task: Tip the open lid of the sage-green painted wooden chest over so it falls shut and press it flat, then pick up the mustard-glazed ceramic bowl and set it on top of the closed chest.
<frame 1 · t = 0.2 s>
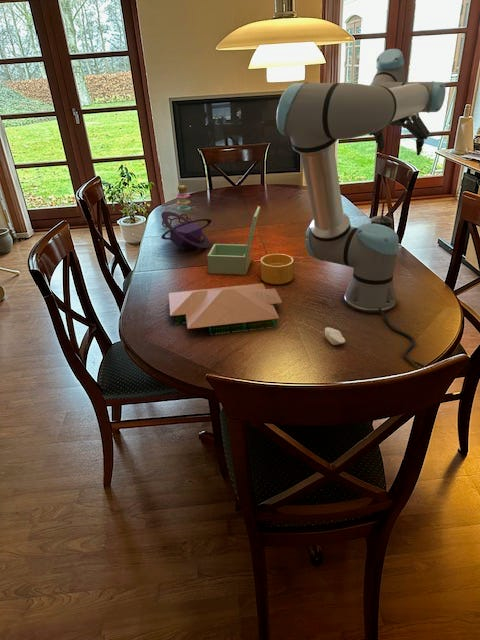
hand: (400, 150, 158), 36 cm above the table, tool tilted 35°, fingers open, 13 cm apart
white rock: (334, 342, 119), on the table
house: (226, 314, 134), on the table
glasses: (181, 229, 202), on the table
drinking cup: (376, 254, 169), on the table
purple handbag: (187, 248, 182), on the table
chest lid: (252, 230, 155), point 14 cm above the table, hinge at 104.4°
bowl: (276, 278, 154), on the table
chest: (230, 267, 163), on the table
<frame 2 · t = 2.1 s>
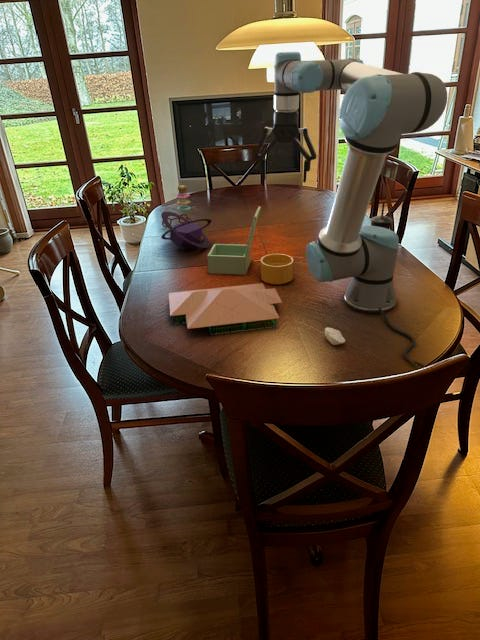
hand: (284, 180, 147), 31 cm above the table, tool pointing down, fingers open, 13 cm apart
chest lid: (252, 230, 155), point 14 cm above the table, hinge at 105.0°
everything else where it was.
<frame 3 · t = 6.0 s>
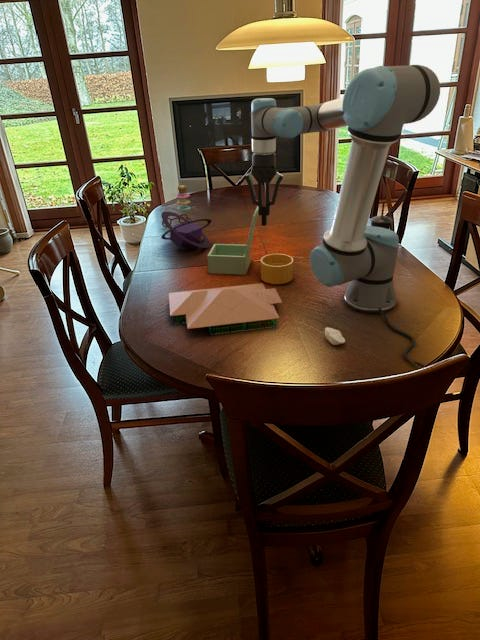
hand: (264, 224, 153), 17 cm above the table, tool pointing down, fingers closed
chest lid: (252, 230, 155), point 14 cm above the table, hinge at 103.2°, touching gripper
everything else where it was.
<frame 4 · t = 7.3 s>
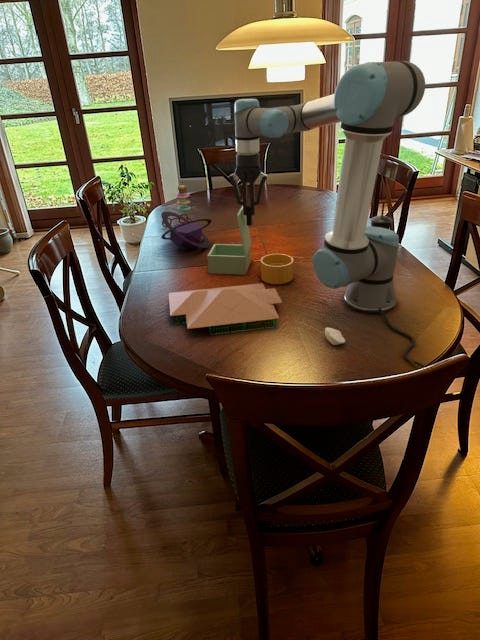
hand: (249, 224, 154), 17 cm above the table, tool pointing down, fingers closed
chest lid: (244, 230, 155), point 14 cm above the table, hinge at 81.7°, touching gripper
everything else where it was.
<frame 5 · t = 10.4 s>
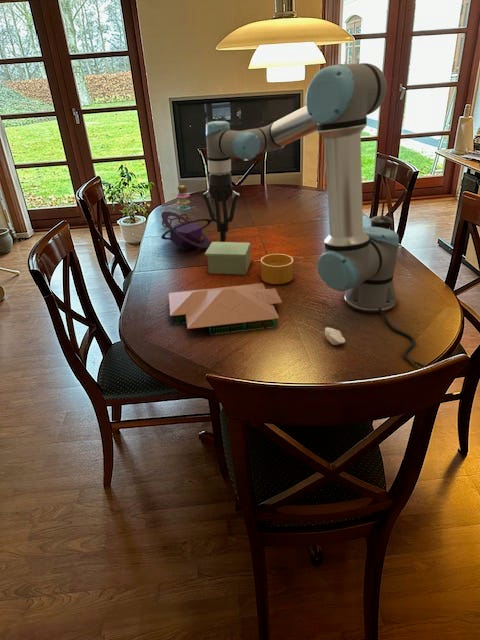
hand: (223, 240, 158), 10 cm above the table, tool pointing down, fingers closed
chest lid: (228, 248, 160), point 7 cm above the table, hinge at -0.2°
everything else where it was.
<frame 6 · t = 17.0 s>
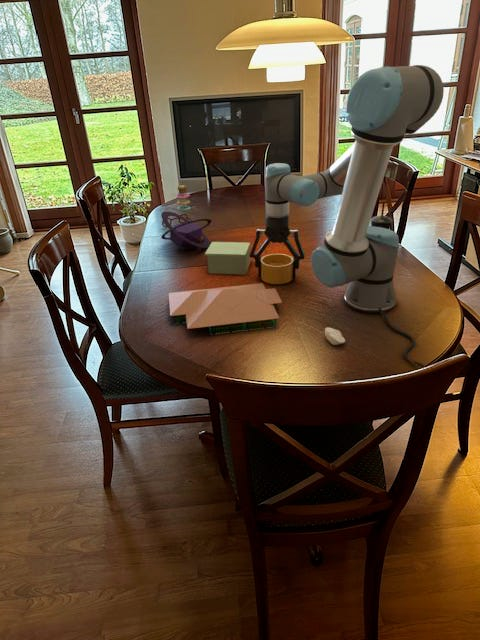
hand: (276, 276, 153), 1 cm above the table, tool pointing down, fingers closed on bowl, 11 cm apart
bowl: (276, 278, 154), on the table, touching gripper
everything else where it was.
when the fingers open (8 cm above the table, at t = 25.0 s): bowl stays where it is, resting on chest lid.
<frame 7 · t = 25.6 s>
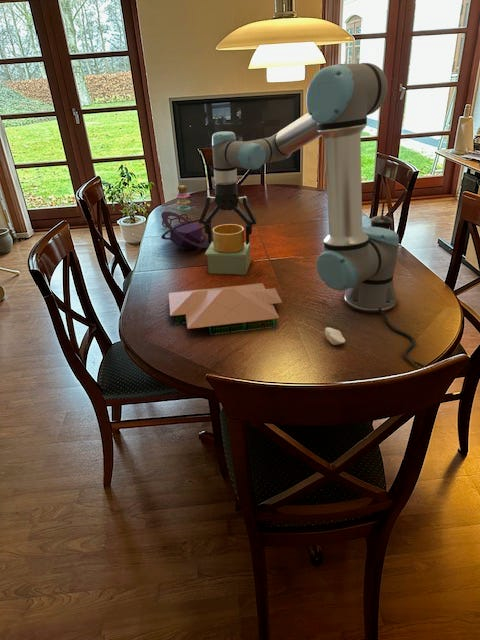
hand: (228, 242, 158), 10 cm above the table, tool pointing down, fingers open, 13 cm apart
chest lid: (228, 249, 160), point 7 cm above the table, hinge at -0.2°, touching bowl, chest
bowl: (229, 247, 159), point 8 cm above the table, touching chest lid
everything else where it was.
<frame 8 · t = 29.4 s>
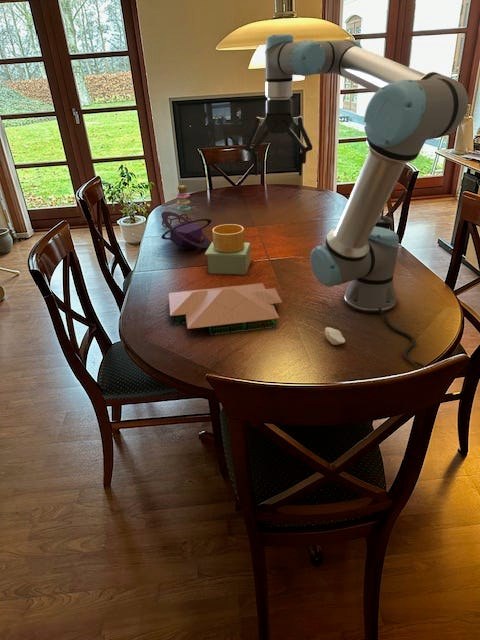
hand: (278, 174, 138), 35 cm above the table, tool pointing down, fingers open, 13 cm apart
nothing on the table moved.
at the end: chest lid at +0° (first picture: +104°); bowl inside the target area on the chest (0.2 cm from its centre), point 7.6 cm above the chest's base; bowl tilted 0° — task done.
